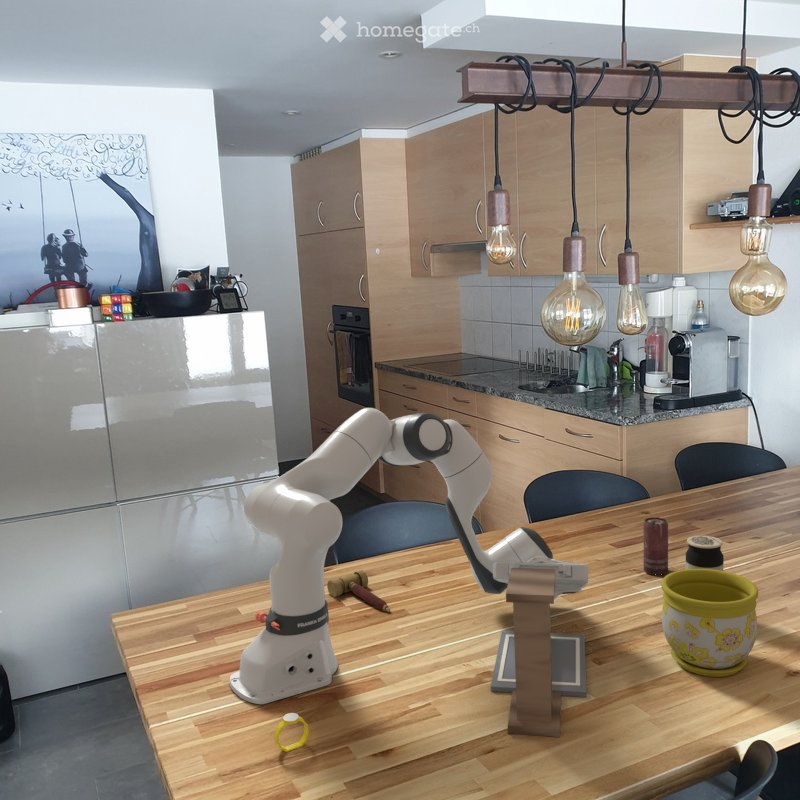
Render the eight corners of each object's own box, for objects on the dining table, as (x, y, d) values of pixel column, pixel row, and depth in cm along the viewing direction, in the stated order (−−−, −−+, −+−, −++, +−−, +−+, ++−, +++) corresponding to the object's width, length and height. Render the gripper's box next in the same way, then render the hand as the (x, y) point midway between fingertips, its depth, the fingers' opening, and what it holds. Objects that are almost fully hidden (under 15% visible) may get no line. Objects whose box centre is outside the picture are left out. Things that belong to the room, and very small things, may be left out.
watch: (305, 740, 142) (304, 708, 142) (311, 747, 140) (310, 715, 139) (273, 749, 139) (272, 717, 139) (278, 757, 137) (278, 724, 136)
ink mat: (501, 635, 178) (501, 630, 177) (584, 638, 174) (584, 633, 173) (490, 691, 154) (490, 685, 154) (586, 697, 151) (586, 691, 150)
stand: (513, 697, 152) (508, 567, 148) (561, 700, 150) (558, 569, 146) (507, 733, 140) (502, 593, 136) (559, 737, 138) (556, 595, 134)
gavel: (405, 595, 195) (371, 607, 189) (406, 613, 196) (372, 625, 190) (358, 567, 211) (326, 577, 206) (359, 583, 212) (327, 593, 207)
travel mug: (692, 624, 178) (692, 547, 175) (680, 609, 185) (680, 535, 182) (728, 623, 177) (729, 546, 174) (715, 608, 185) (716, 534, 182)
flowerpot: (689, 633, 174) (689, 561, 171) (772, 660, 160) (774, 583, 158) (644, 663, 162) (643, 586, 159) (730, 695, 149) (731, 612, 146)
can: (652, 577, 205) (652, 525, 202) (639, 569, 211) (638, 518, 208) (673, 574, 206) (673, 522, 204) (659, 566, 212) (659, 515, 210)
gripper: (495, 561, 181) (488, 551, 169) (587, 564, 177) (588, 553, 164) (494, 590, 179) (488, 581, 167) (588, 593, 175) (588, 584, 162)
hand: (538, 567), depth 165 cm, fingers open, 8 cm apart
